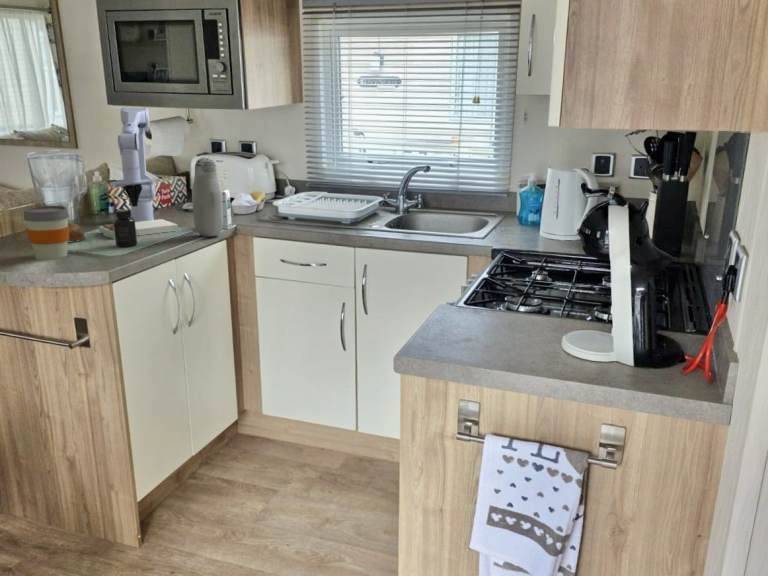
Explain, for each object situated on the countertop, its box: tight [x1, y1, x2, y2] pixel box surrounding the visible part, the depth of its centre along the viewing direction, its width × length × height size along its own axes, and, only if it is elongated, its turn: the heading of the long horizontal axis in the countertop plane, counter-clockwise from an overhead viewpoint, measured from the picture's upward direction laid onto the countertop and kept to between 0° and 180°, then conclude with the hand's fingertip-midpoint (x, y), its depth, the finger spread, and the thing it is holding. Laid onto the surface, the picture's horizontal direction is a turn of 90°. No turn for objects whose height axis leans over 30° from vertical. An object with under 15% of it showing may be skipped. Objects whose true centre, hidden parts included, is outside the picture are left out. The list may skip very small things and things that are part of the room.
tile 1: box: [102, 223, 114, 230], centre depth 245 cm, size 4×4×2 cm
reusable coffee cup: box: [23, 205, 70, 261], centre depth 208 cm, size 13×13×15 cm
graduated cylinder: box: [221, 188, 233, 230], centre depth 255 cm, size 6×6×14 cm
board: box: [135, 218, 179, 236], centre depth 251 cm, size 14×15×2 cm
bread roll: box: [68, 222, 86, 242], centre depth 233 cm, size 10×10×8 cm
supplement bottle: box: [113, 209, 138, 248], centre depth 225 cm, size 7×7×12 cm
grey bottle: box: [191, 157, 223, 238], centre depth 239 cm, size 10×10×28 cm
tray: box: [98, 225, 139, 239], centre depth 243 cm, size 14×9×2 cm, turn 41°
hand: (134, 206), depth 242 cm, fingers closed
